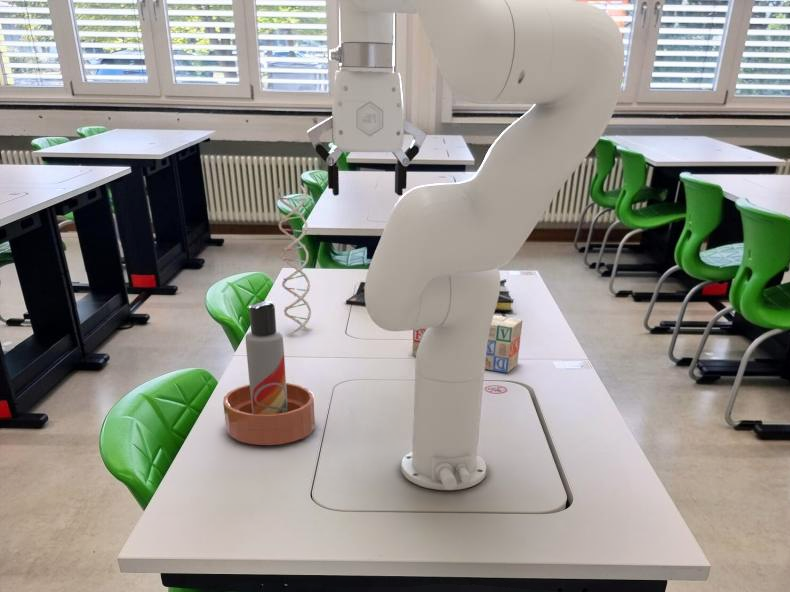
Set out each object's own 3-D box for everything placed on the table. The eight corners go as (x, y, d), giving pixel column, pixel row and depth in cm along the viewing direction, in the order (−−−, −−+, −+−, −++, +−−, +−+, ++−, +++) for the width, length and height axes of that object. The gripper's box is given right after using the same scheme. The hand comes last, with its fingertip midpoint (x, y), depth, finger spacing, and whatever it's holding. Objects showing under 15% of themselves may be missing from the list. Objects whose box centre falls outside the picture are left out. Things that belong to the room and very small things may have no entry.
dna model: (299, 326, 168) (291, 183, 152) (318, 332, 164) (313, 186, 148) (277, 333, 163) (267, 185, 147) (297, 339, 160) (289, 189, 144)
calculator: (346, 303, 185) (346, 291, 183) (361, 293, 194) (361, 281, 193) (381, 307, 183) (381, 295, 181) (394, 296, 192) (395, 284, 191)
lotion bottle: (281, 435, 117) (273, 308, 106) (248, 431, 117) (236, 305, 107) (293, 421, 121) (286, 298, 111) (260, 417, 122) (250, 296, 111)
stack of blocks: (518, 365, 149) (525, 304, 142) (507, 374, 144) (513, 311, 138) (424, 347, 157) (426, 288, 150) (411, 355, 152) (413, 295, 146)
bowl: (317, 446, 115) (316, 413, 112) (225, 450, 113) (221, 417, 110) (311, 410, 127) (310, 380, 124) (228, 414, 124) (224, 383, 122)
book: (442, 290, 199) (444, 271, 196) (504, 292, 198) (506, 273, 196) (445, 312, 180) (446, 291, 178) (513, 314, 180) (515, 294, 177)
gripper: (306, 57, 97) (311, 198, 106) (433, 61, 100) (428, 198, 109) (303, 58, 103) (308, 190, 112) (422, 61, 106) (418, 191, 115)
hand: (367, 194), depth 111 cm, fingers open, 9 cm apart
